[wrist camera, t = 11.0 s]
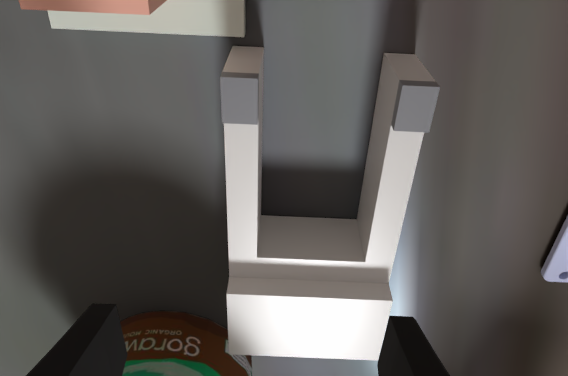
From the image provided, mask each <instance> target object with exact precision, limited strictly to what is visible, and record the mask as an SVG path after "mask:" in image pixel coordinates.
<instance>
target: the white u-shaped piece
mask: <svg viewBox="0 0 568 376" xmlns="http://www.w3.org/2000/svg"><path fill="white" fill-rule="evenodd" d="M263 74H264V47H247V46H232V49H231V51H230V54H229V56H228V59H227V61H226V64H225V66H224V69H223V71H222V74H221V76H220V86H221V113H222V123H224V137H225V166H226V195H227V224H228V253H229V282H228V288H227V319H228V344H229V354H233V355H258V356H283V357H307V358H332V359H357V360H378V358H379V354H380V350H381V346H382V342H383V338H384V334H385V330H386V326H387V322H388V318H389V314H390V310H391V306H392V302H393V300H392V296H391V292H390V288H389V280H390V275H391V271H392V267H393V263H394V258H395V254H396V250H397V246H398V241H399V237H400V233H401V228H402V224H403V220H404V216H405V211H406V207H407V203H408V199H409V194H410V190H411V186H412V182H413V177H414V173H415V169H416V164H417V160H418V156H419V152H420V147H421V143H422V139H423V135H424V132H429V131H430V127H431V123H432V119H433V115H434V110H435V106H436V102H437V98H438V94H439V90H440V86H439V85H438V84H437V82H436V81H435V80H434V78H433V77H432V76H431V75H430V73H429V72H428V71H427V69H426V68H425V67H424V65H423V64H422V63H421V61H420V60H419V59H418V57H417V56H416V55H415V54H398V53H384V55H383V62H382V68H381V74H380V80H379V86H378V92H377V98H376V104H375V111H374V117H373V123H372V129H371V135H370V141H369V147H368V154H367V160H366V166H365V172H364V178H363V184H362V190H361V196H360V203H359V209H358V215H357V219H336V218H313V217H290V216H267V215H261V192H262V133H263Z"/></svg>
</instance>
